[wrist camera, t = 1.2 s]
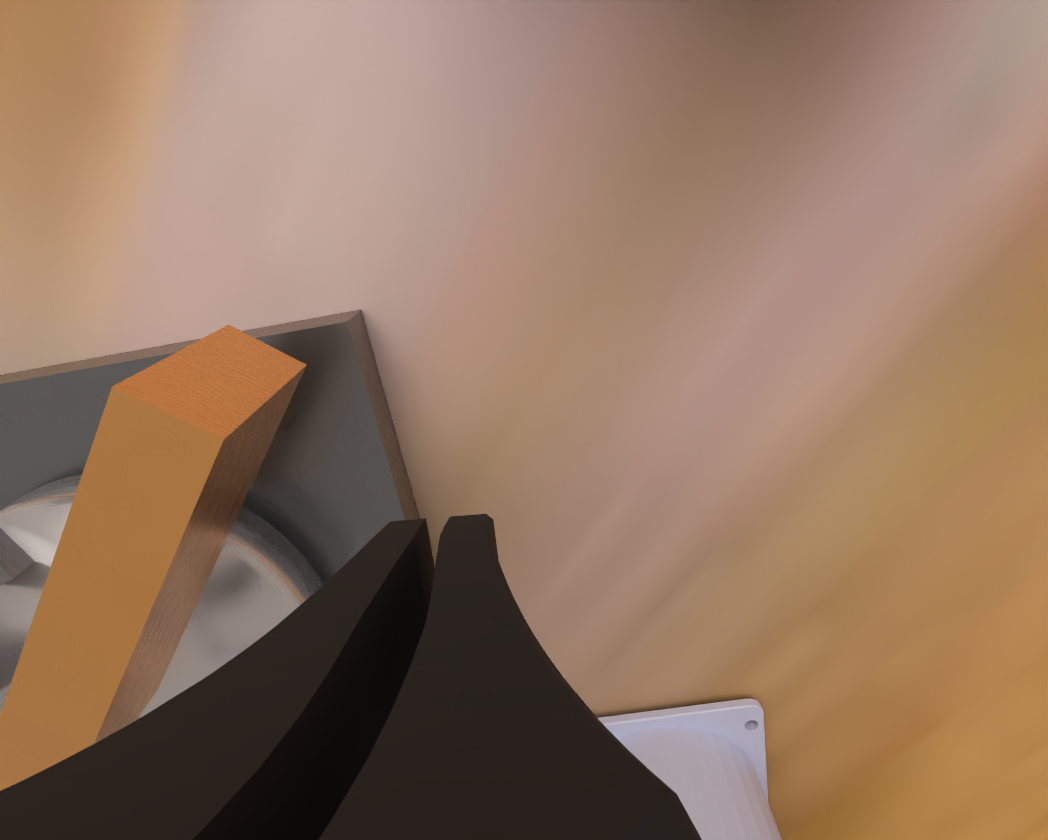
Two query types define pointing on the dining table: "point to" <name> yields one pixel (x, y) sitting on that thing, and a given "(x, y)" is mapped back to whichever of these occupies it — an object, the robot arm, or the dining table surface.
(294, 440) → the base plate
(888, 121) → the dining table surface
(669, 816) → the robot arm
